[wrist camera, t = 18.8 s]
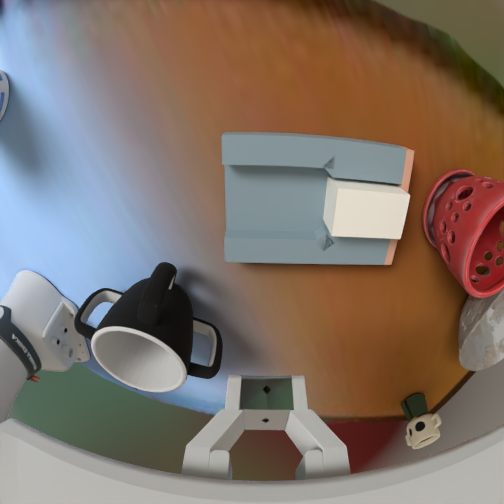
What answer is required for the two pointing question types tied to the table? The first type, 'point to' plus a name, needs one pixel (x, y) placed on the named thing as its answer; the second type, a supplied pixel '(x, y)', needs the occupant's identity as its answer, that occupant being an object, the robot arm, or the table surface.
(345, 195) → the cream block
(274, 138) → the channel dock
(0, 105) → the supplement tub
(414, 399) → the character mug
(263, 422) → the robot arm
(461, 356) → the ceramic bowl
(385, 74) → the table surface
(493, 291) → the plant pot
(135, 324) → the mug
